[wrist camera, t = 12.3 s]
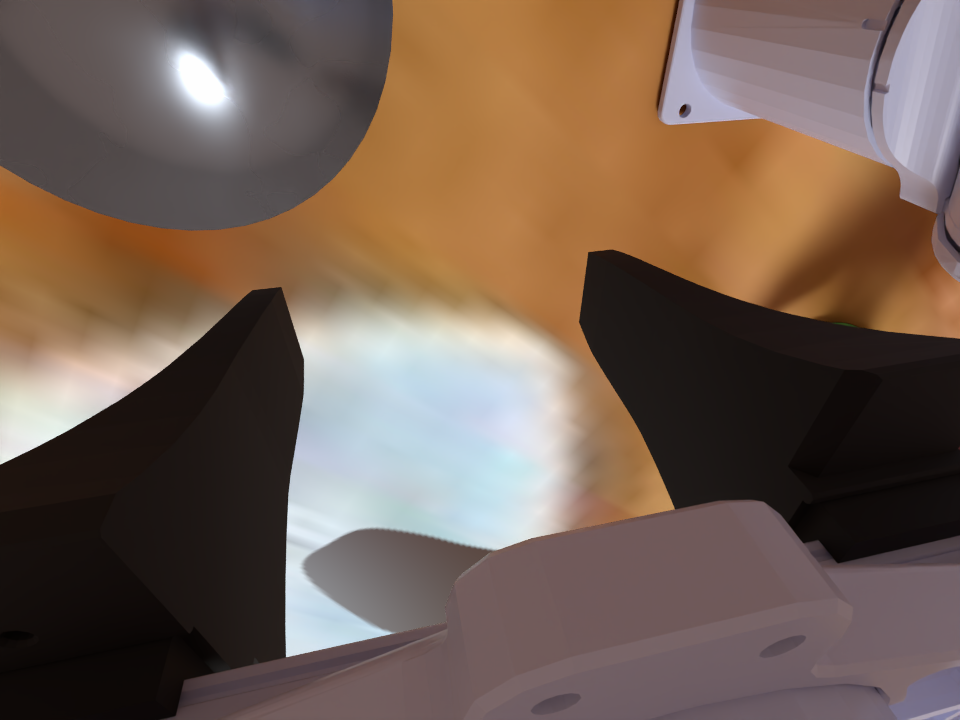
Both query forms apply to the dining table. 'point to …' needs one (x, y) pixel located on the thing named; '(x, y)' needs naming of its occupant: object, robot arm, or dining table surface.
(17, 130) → the balance
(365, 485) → the dining table surface
